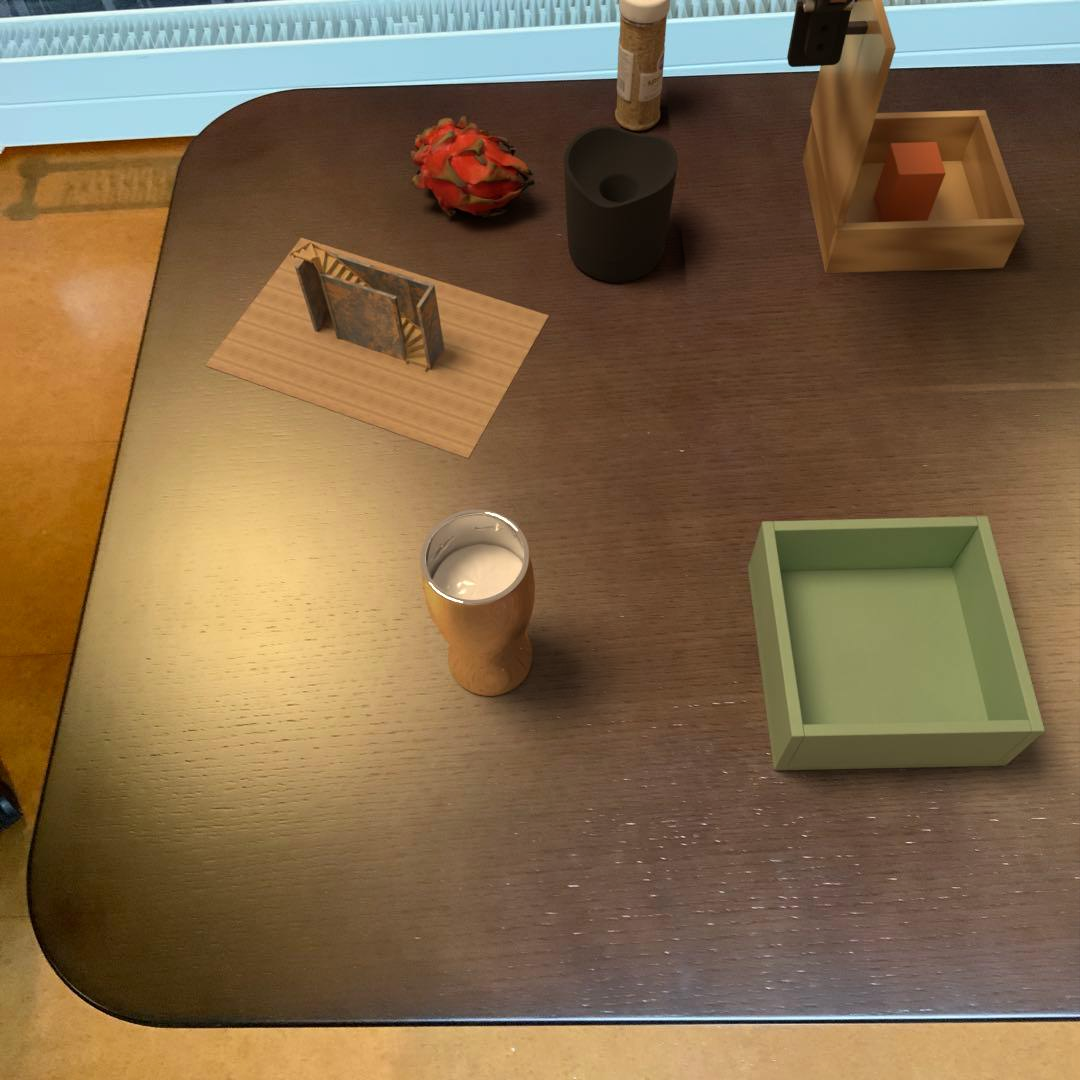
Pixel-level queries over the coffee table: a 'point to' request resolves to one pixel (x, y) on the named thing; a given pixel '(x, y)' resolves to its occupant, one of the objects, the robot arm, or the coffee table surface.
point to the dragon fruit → (468, 168)
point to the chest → (956, 217)
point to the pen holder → (618, 201)
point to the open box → (888, 645)
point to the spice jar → (640, 62)
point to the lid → (851, 100)
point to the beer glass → (481, 598)
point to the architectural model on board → (381, 345)
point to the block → (909, 182)
